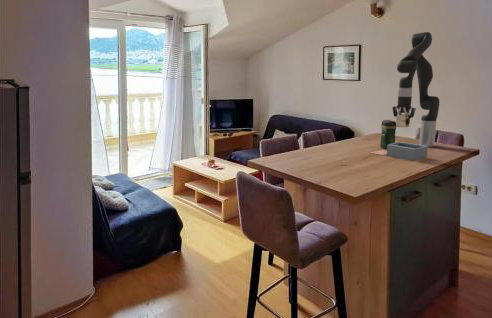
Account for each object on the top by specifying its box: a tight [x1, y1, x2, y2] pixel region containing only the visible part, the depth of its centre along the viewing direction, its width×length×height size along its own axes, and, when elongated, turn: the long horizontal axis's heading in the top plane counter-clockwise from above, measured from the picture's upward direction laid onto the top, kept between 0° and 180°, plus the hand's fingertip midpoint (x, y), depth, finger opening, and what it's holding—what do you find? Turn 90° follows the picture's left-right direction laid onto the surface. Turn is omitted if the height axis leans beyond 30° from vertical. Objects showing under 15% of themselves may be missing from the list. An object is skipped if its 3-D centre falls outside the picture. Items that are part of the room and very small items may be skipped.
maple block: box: [396, 113, 410, 129], centre depth 244 cm, size 5×5×7 cm
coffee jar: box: [379, 119, 397, 150], centre depth 270 cm, size 10×8×19 cm
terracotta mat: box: [369, 149, 387, 157], centre depth 257 cm, size 12×9×1 cm
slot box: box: [386, 141, 429, 162], centre depth 246 cm, size 14×18×7 cm
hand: (402, 124), depth 245 cm, fingers closed on maple block, 5 cm apart
